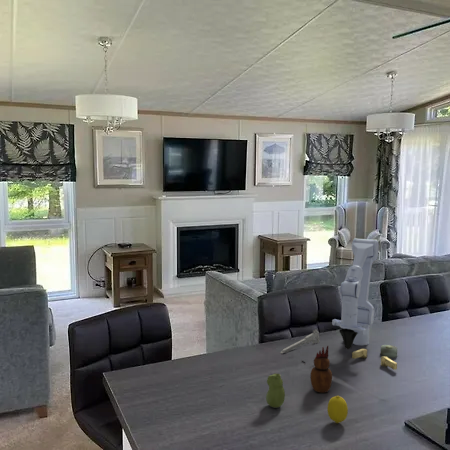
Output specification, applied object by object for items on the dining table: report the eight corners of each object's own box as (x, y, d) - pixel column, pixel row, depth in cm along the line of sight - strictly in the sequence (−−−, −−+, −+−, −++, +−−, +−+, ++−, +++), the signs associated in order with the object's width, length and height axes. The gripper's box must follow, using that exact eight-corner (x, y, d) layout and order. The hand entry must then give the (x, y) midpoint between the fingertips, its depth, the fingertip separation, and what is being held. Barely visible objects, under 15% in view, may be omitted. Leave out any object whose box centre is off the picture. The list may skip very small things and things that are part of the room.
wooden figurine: (332, 388, 146) (333, 343, 144) (330, 396, 140) (332, 350, 139) (311, 385, 148) (312, 341, 147) (309, 392, 143) (310, 347, 141)
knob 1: (350, 360, 165) (350, 351, 165) (362, 355, 169) (363, 347, 169) (355, 362, 163) (356, 353, 163) (368, 357, 167) (368, 349, 167)
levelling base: (348, 361, 167) (348, 349, 167) (380, 349, 179) (381, 338, 179) (380, 374, 156) (381, 362, 156) (412, 361, 168) (413, 349, 167)
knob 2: (392, 372, 154) (392, 363, 154) (379, 364, 161) (379, 356, 161) (398, 371, 155) (398, 363, 155) (385, 363, 162) (385, 355, 162)
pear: (274, 413, 130) (275, 379, 129) (262, 405, 134) (262, 373, 133) (288, 407, 134) (288, 374, 133) (275, 400, 138) (275, 368, 137)
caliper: (317, 343, 187) (317, 328, 186) (319, 343, 186) (319, 329, 185) (279, 353, 175) (280, 338, 175) (281, 354, 174) (282, 338, 174)
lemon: (324, 418, 127) (325, 391, 127) (343, 417, 128) (344, 390, 127) (330, 429, 122) (331, 401, 121) (350, 428, 122) (351, 400, 122)
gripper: (327, 310, 170) (326, 344, 172) (358, 319, 159) (357, 356, 160) (339, 307, 175) (338, 340, 176) (370, 316, 163) (369, 352, 164)
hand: (348, 348), depth 168 cm, fingers closed
